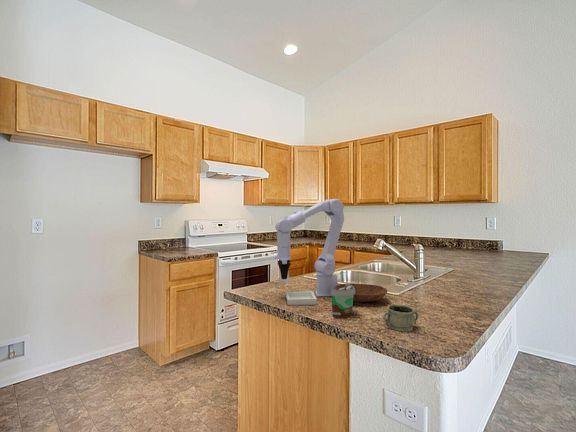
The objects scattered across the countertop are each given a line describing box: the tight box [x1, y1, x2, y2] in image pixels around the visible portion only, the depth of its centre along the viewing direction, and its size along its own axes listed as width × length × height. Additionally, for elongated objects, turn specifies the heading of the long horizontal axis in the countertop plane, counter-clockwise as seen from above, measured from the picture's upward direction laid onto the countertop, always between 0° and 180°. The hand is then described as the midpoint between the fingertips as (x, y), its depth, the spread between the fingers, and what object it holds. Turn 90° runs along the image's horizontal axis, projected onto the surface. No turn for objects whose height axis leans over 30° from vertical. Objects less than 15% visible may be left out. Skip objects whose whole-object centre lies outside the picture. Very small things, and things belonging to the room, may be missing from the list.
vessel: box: [383, 303, 419, 332], centre depth 100 cm, size 12×9×6 cm
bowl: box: [335, 283, 388, 303], centre depth 131 cm, size 20×22×5 cm
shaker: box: [278, 267, 290, 285], centre depth 133 cm, size 4×4×7 cm
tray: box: [285, 290, 318, 307], centre depth 129 cm, size 12×12×2 cm
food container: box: [331, 283, 355, 318], centre depth 112 cm, size 12×6×10 cm, turn 143°
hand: (284, 277), depth 133 cm, fingers closed on shaker, 4 cm apart
